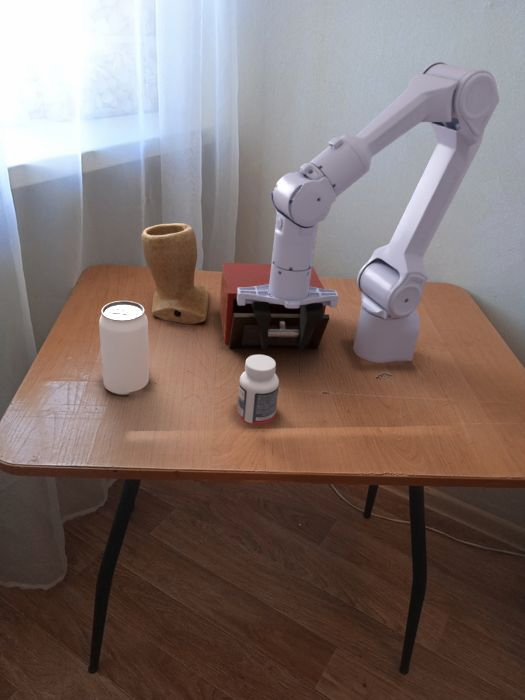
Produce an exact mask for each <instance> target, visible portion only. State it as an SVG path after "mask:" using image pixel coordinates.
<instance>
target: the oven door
mask: <svg viewBox="0 0 525 700" xmlns="http://www.w3.org/2000/svg"><path fill="white" fill-rule="evenodd" d="M330 319H331V318H330V314H326V313H325V314H324V315H323V318H322V319H321V320H320V321H319V322H318V324H317V325H316V326H315V327H314V329H313V330H312V332H311V333H310V335H309V337H308V339H307V341H306V343H305V346H304V349H303V350H305V349H306V350H308V349H310V350H311V349H312V350H313V349H314V350H316V349H317V350H318V349H319V346H320V345H321V342H322V339H323V336H324V334H325V331H326V328H327V326H328V324H329V321H330ZM299 323H300V314H271V320H270V325H269V331H268V346H267V349H278V350H279V349H283V350H284V349H291V350H293V349H294V350H295V349H297V350H299V349H298V346H297V343H296V342H297V337H299V336H300V330H299V329H298V328H299ZM319 344H320V345H319ZM228 349H262V347H261V337H260V329H259V325H258V322H257V320H256V317H255V315H254V313H234V314H233V321H232V327H231V334H230V340H229V344H228Z"/></svg>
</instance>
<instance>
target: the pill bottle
mask: <svg viewBox="0 0 525 700" xmlns="http://www.w3.org/2000/svg"><path fill="white" fill-rule="evenodd" d="M276 367H277V363H276V360H275V359H274V358H272V357H271V356H269V355H265V354H251V355H249V356H248V357H247V358H246V360H245V363H244V371H243V372H242V373H241V375H240V377H239V380H238V381H239V382H238V396H237V408H236V409H237V411H236V412H237V415H238V417H239V418H240V419H241V420H242V421H245V422H246V423H248V424H253V425H264V424H268V423H270V422H272V421H273V420H274V419H275V417H276V413H277V403H278V394H279V385H280V380H279V376H278V375H277V374H276V369H277V368H276Z"/></svg>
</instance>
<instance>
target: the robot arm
mask: <svg viewBox="0 0 525 700" xmlns="http://www.w3.org/2000/svg"><path fill="white" fill-rule="evenodd" d="M499 103H500V96H499V92H498V86H497V82H496V78H495V76H494V75H493V74H492V73H491V72H490V71H489V70H487V69H483V68H479V69H475V68H468V67H463V66H457V65H452V64H448V63H445V62H443V61H435V62H432V63H429V64H428V65H426V66H425V67H424V68H423V69H422V70H421V72H418V73H417V74H415V75H414V76H412V77H411V78H410V80H409V83H408V85H407V88H406V89H405V90H404V91H403V92H402V93H401V94H400V95H398V97H396V98H395V99H394V100H393V101H392V102H391V103H390V104H389V105H388V106H387V107H385V108H384V109H383V111H381V112H380V113H379V114H378V115H377V116H376V117H375V118H373V120H371V121H370V122H369V123H368V124H367V125H366V126H365V127H364V128H363V129H362V130H361V131H359V133H357V134H356V135H350V134H343V135H341V136H340V137H337V136H334V137H333V138H331V139H330V140H329V141H328V147H326V148H325V149H324V150H323V151H321V152H320V153H319V154H318V155H316V156H315V157H314V158H313V159H312V160H310V161H309V162H305V163H303V164H301V166H300V168H299V171H293V172H292V171H291V172H287V173H285V174H284V175H283V176H281V178H279V179H278V180H277V182H276V183H275V186H274V189H273V190H272V191H270V192H269V197H270V203H271V205H272V207H273V208H274V209H275V212H276V214H275V227H274V235H273V246H272V255H271V263H270V264H271V272H270V282H269V284H268V285H261V286H254V287H238V289H237V303H238V305H245V304H246V303H248V304H252V307H253V311H254V315H255V317H256V320H257V322H258V325H259V329H260V337H261V347H262V348H261V349H262V350H263V351H264V350H265V351H267V350H268V348H267V346H268V331H269V325H270V320H271V313H270V306H269V304H280V305H284V306H285V307H286V308H299V307H300V305H301V311H300V323H299V328H298V329H299V330H300V336H299V337H297V342H296V343H297V346H298V349H297V350H298V351H304V350H305V349H304V346H305V343H306V341H307V339H308V337H309V335H310V333H311V332H312V330H313V329H314V327H315V326H316V325H317V324H318V322H319V321H320V320H321V319H322V318H323V315H324V311H323V309H322V308H323V305H326V306H328V307H329V308H337V307H338V302H339V294H338V292H337V290H336V289H327V288H324V289H321V288H315V287H309V285H310V278H311V271H312V266H313V263H314V256H315V249H316V243H317V237H318V229H319V223H321V222H323V221H324V220H325V219H326V218H327V217H328V215H329V213H330V211H331V208H332V205H333V203H335V201H336V199H337V198H338V197H339V196H340V195H341V194H343V192H345V191H346V190H347V189H348V188H350V187H351V186H352V185H353V184H355V183H356V182H358V180H359V179H361V178H362V177H363V176H365V175H366V174H367V173H368V172H369V171H370V168H371V163H372V158H373V157H374V156H376V155H377V154H378V153H380V152H381V151H382V150H385V149H386V148H387V147H388V146H389V145H391V144H392V143H394V142H395V141H397V140H398V139H399V138H401V137H402V136H403V135H405V134H407V133H408V132H409V131H411V130H413V128H415V127H417V126H418V125H419V124H421V123H429V124H430V125H431V127H432V129H433V132H434V135H435V138H436V141H437V144H436V146H435V148H434V150H433V152H432V154H431V156H430V159H429V160H428V163H427V165H426V167H425V169H424V171H423V173H422V174H421V177H420V179H419V181H418V182H417V183H418V184H417V185H416V187H415V190H414V192H413V194H412V195H411V199H410V200H409V202H408V204H407V206H406V208H405V211H403V212H404V213H403V214H402V216H401V218H400V220H399V222H398V224H397V226H396V228H395V231H394V233H393V235H392V237H391V238H390V241H389V243H388V244H385V245H382V246H380V247H378V248H376V249H374V251H373V253H372V255H371V257H370V258H369V260H368V261H366V262H365V264H363V266H362V267H361V268H360V270H359V272H358V273H357V277H356V286H357V289H358V290H359V291H360V292H361V295H360V301H361V304H360V305H361V306H360V311H359V316H358V320H357V326H356V331H355V335H354V340H353V345H352V350H353V353H354V354H355V355H356V356H358V357H359V358H360V359H363V360H365V361H367V362H371V363H377V364H386V363H391V362H412V361H413V357H414V353H415V349H416V346H417V341H418V338H419V335H420V329H421V320H420V319H421V318H420V314H419V312H418V310H417V309H418V307H419V305H420V304H421V300H422V297H423V291H424V286H425V285H426V282H427V280H428V278H429V277H428V273H427V269H426V267H425V264H424V259H423V257H424V256H425V254H426V252H427V250H428V248H429V246H430V244H431V242H432V241H433V239H434V236H435V234H436V232H437V231H438V228H439V227H440V224H441V223H442V221H443V219H444V217H445V215H446V213H447V211H448V209H449V208H450V205H451V204H452V201H454V200H453V199H454V198H455V195H456V194H457V192H458V190H459V188H460V186H461V184H462V183H463V180H464V178H465V177H466V174H467V173H468V170H469V168H470V167H471V165H472V163H473V161H474V159H475V157H476V155H477V153H478V151H479V149H480V148H481V145H482V141H483V138H484V133H485V129H486V127H487V125H488V124H489V122H490V120H491V118H492V116H493V114H494V112H495V110H496V109H497V106H498V104H499Z"/></svg>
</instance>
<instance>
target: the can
mask: <svg viewBox="0 0 525 700" xmlns="http://www.w3.org/2000/svg"><path fill="white" fill-rule="evenodd" d="M100 312H101V314H100V317H99V320H98V328H99V329H98V330H99V342H100V343H99V344H100V356H101V370H102V382H103V386H104V388H105V389H106V390H107V391H109V392H110V393H112V394H115V395H118V396H130V393H132V392H133V393H134V392H136V391H139V390H141V389H144V388H145V387H147V385H148V384H149V381H150V356H149V355H150V350H149V348H150V347H149V321H148V317H147V315H146V313H145V308H144V306H143V305H141V304H140V303H138V302H135V301H131V300H117V301H113V302H109V303H107V304H105V305H104V306H103V307H102V308H101V311H100Z"/></svg>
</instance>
